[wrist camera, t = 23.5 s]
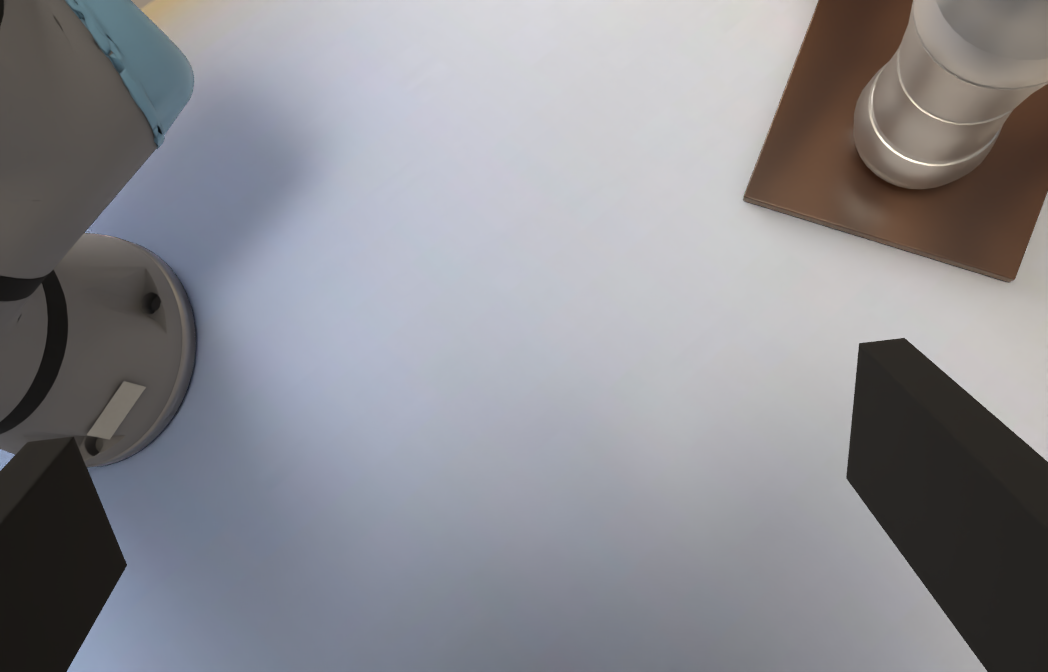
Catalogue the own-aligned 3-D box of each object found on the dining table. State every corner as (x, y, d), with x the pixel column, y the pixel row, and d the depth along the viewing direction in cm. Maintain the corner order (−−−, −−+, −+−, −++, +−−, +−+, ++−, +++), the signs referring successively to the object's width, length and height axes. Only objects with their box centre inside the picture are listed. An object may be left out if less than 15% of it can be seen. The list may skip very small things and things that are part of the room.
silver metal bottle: (922, 55, 42) (1104, -269, 22) (1009, 151, 40) (1286, -109, 21) (818, 129, 43) (909, -123, 23) (901, 226, 41) (1070, 42, 22)
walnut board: (742, 200, 44) (743, 196, 43) (849, -79, 44) (852, -88, 44) (1009, 283, 40) (1015, 280, 40) (1123, -23, 41) (1130, -32, 40)
